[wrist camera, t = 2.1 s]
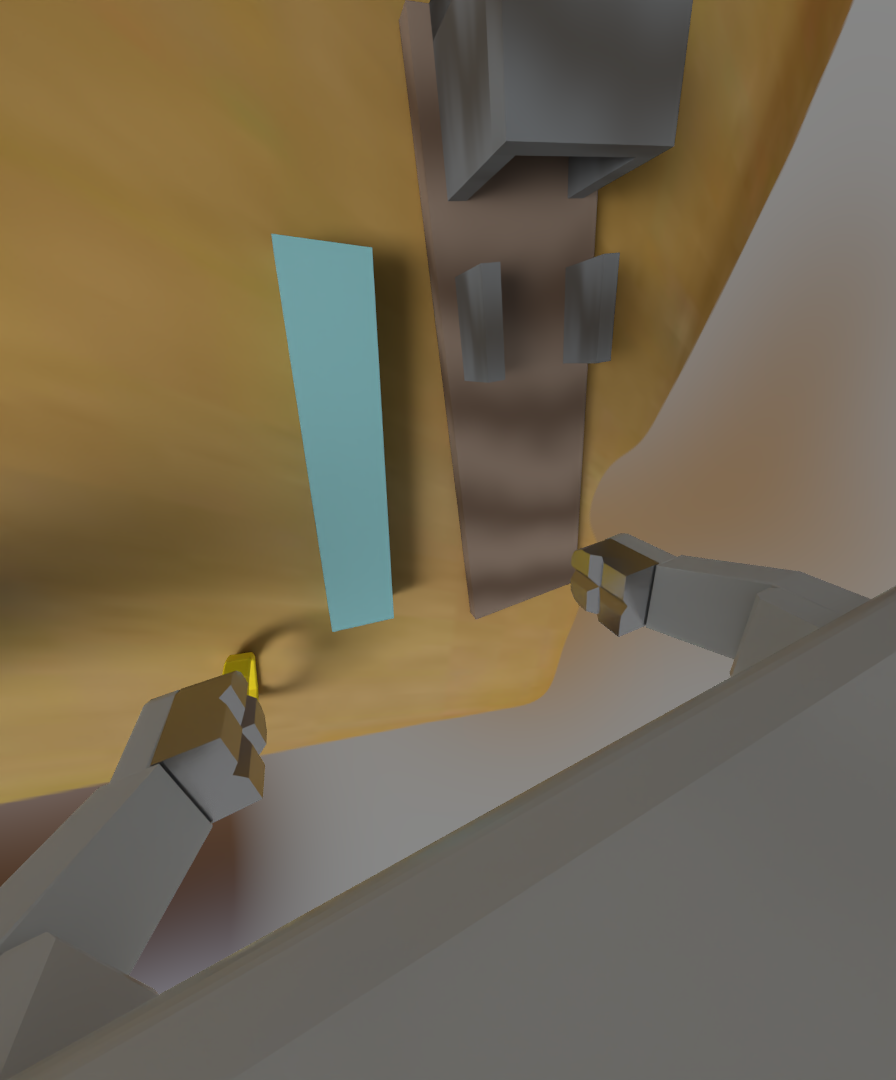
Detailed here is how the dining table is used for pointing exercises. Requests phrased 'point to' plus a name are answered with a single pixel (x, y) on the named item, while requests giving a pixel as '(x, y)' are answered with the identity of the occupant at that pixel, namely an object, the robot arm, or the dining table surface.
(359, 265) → the slat
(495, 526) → the end-cap base
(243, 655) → the watch
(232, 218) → the dining table surface
